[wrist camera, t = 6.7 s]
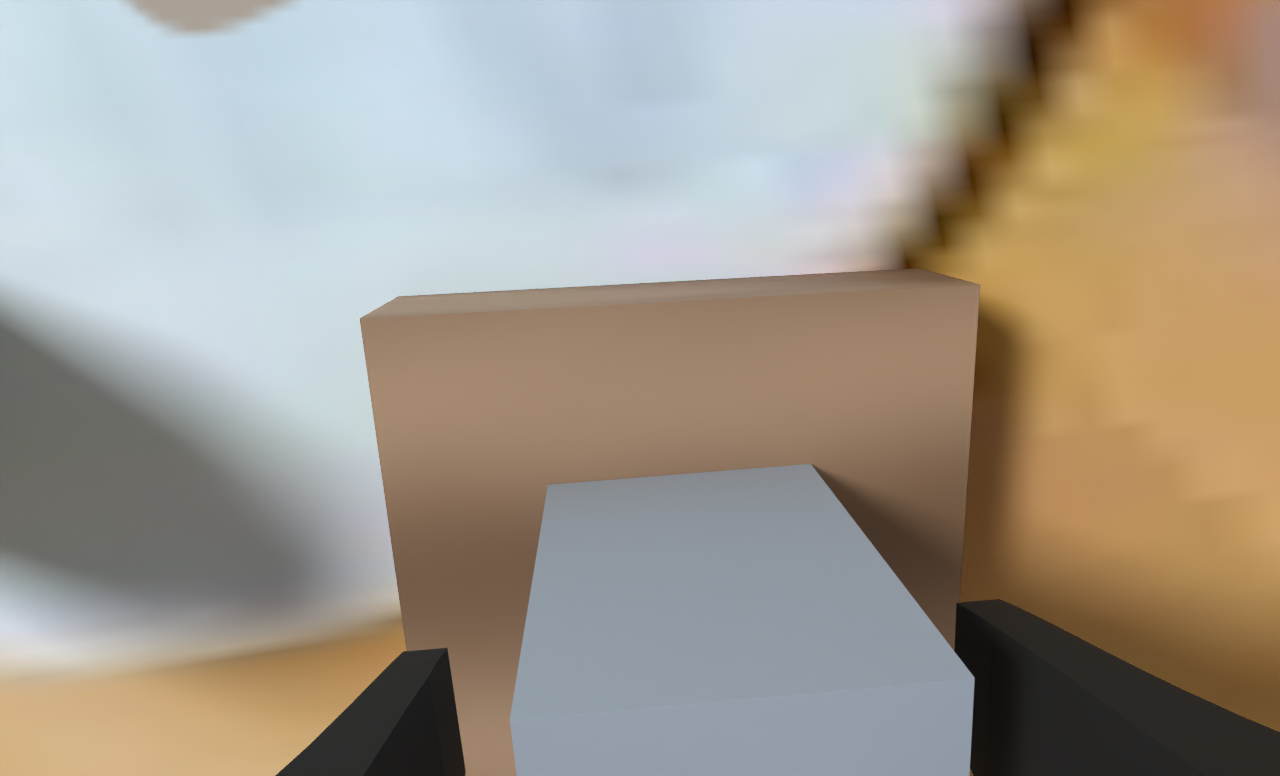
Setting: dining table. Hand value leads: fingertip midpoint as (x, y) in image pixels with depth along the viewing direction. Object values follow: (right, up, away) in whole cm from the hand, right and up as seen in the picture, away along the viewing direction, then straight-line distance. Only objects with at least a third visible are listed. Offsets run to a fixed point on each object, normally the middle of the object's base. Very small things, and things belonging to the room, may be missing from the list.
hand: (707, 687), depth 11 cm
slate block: (0, +1, +3) cm, 3 cm away
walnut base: (0, +1, +6) cm, 6 cm away
